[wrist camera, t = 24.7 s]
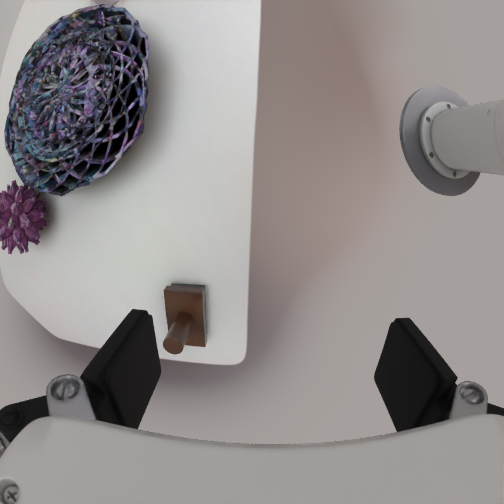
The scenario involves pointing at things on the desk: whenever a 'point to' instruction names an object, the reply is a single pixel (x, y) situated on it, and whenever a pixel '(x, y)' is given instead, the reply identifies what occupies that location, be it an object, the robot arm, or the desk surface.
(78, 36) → the decorative bowl
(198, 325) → the stamp
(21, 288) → the desk surface
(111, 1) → the smoothie
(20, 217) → the flower
